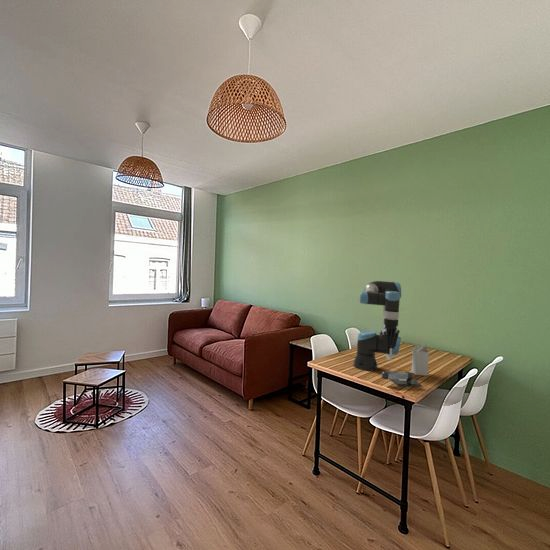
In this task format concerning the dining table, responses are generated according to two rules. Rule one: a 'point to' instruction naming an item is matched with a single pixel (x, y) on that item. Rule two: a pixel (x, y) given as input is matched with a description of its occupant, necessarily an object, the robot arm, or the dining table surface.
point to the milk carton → (420, 360)
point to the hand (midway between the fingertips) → (388, 359)
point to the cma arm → (397, 375)
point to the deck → (405, 382)
